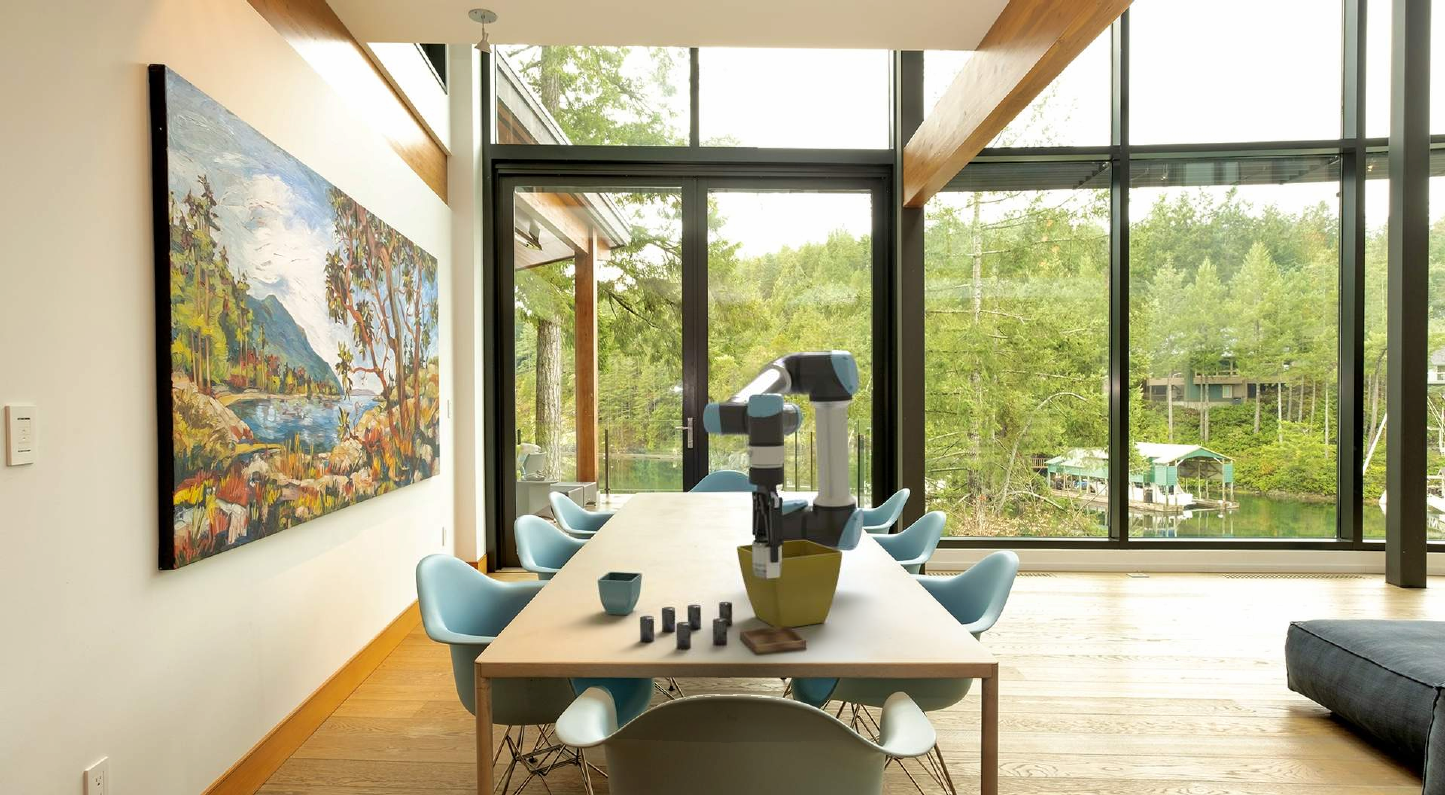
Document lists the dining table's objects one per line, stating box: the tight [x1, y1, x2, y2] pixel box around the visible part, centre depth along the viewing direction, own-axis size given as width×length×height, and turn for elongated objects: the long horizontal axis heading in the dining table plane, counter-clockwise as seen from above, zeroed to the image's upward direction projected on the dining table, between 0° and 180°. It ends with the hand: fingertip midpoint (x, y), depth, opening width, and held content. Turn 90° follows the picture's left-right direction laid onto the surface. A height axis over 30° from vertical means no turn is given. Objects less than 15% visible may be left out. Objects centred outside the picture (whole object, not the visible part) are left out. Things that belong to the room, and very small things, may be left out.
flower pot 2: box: [736, 540, 843, 628], centre depth 186 cm, size 19×19×17 cm
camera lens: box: [751, 537, 782, 578], centre depth 168 cm, size 6×6×8 cm
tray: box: [739, 626, 807, 656], centre depth 168 cm, size 11×11×2 cm
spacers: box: [639, 601, 733, 651], centre depth 174 cm, size 22×16×5 cm
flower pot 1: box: [597, 571, 643, 616], centre depth 194 cm, size 9×9×9 cm
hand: (767, 573), depth 168 cm, fingers closed on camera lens, 6 cm apart
